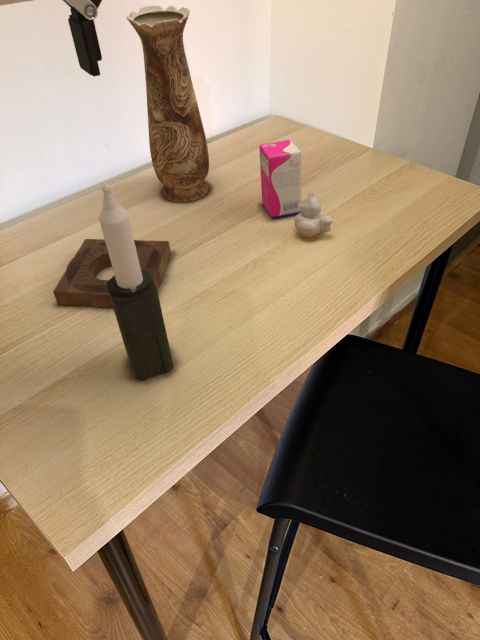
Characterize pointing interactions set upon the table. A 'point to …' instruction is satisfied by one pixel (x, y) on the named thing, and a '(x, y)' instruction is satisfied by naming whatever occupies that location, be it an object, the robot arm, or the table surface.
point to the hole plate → (95, 257)
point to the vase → (172, 104)
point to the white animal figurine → (312, 217)
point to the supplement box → (280, 178)
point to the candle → (134, 296)
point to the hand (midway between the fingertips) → (34, 84)
